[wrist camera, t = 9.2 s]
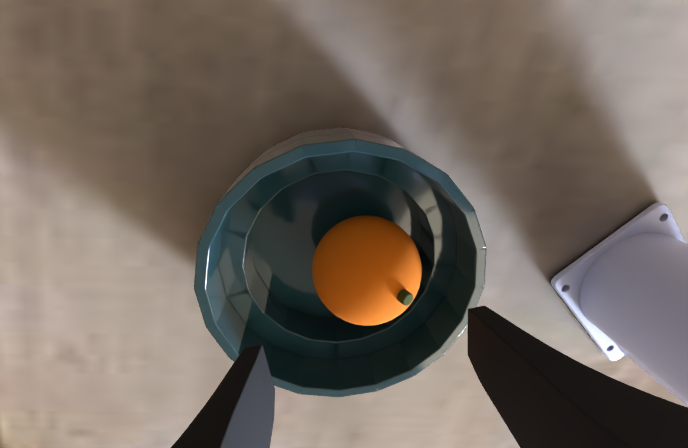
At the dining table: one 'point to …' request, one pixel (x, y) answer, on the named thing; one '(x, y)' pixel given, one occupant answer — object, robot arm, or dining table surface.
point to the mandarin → (366, 270)
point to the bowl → (298, 252)
